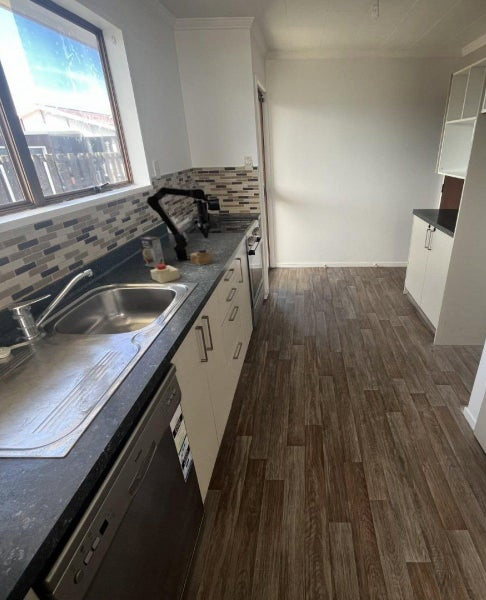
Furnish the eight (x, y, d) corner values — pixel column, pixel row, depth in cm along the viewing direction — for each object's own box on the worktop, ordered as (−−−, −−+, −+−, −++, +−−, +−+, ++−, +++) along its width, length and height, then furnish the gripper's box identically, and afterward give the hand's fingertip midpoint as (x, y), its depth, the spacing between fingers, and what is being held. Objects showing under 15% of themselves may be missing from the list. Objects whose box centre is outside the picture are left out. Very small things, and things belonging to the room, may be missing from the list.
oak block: (191, 262, 190) (189, 250, 187) (203, 259, 196) (201, 247, 193) (201, 266, 184) (199, 254, 181) (213, 263, 189) (212, 251, 186)
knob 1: (156, 269, 163) (155, 265, 162) (163, 267, 165) (163, 263, 164) (160, 271, 160) (159, 267, 159) (167, 268, 163) (167, 264, 162)
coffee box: (144, 266, 185) (138, 238, 178) (153, 262, 191) (147, 235, 184) (156, 268, 182) (150, 239, 175) (165, 264, 187) (159, 236, 181)
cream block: (151, 279, 167) (148, 267, 164) (170, 273, 174) (168, 261, 171) (161, 284, 161) (158, 271, 158) (180, 278, 168) (178, 266, 165)
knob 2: (197, 252, 185) (197, 249, 185) (203, 251, 188) (203, 248, 187) (201, 253, 183) (201, 250, 182) (207, 252, 186) (207, 249, 185)
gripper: (224, 211, 186) (227, 238, 193) (205, 207, 197) (209, 233, 204) (207, 214, 179) (211, 242, 185) (188, 210, 190) (193, 236, 196)
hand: (206, 238), depth 193 cm, fingers closed
